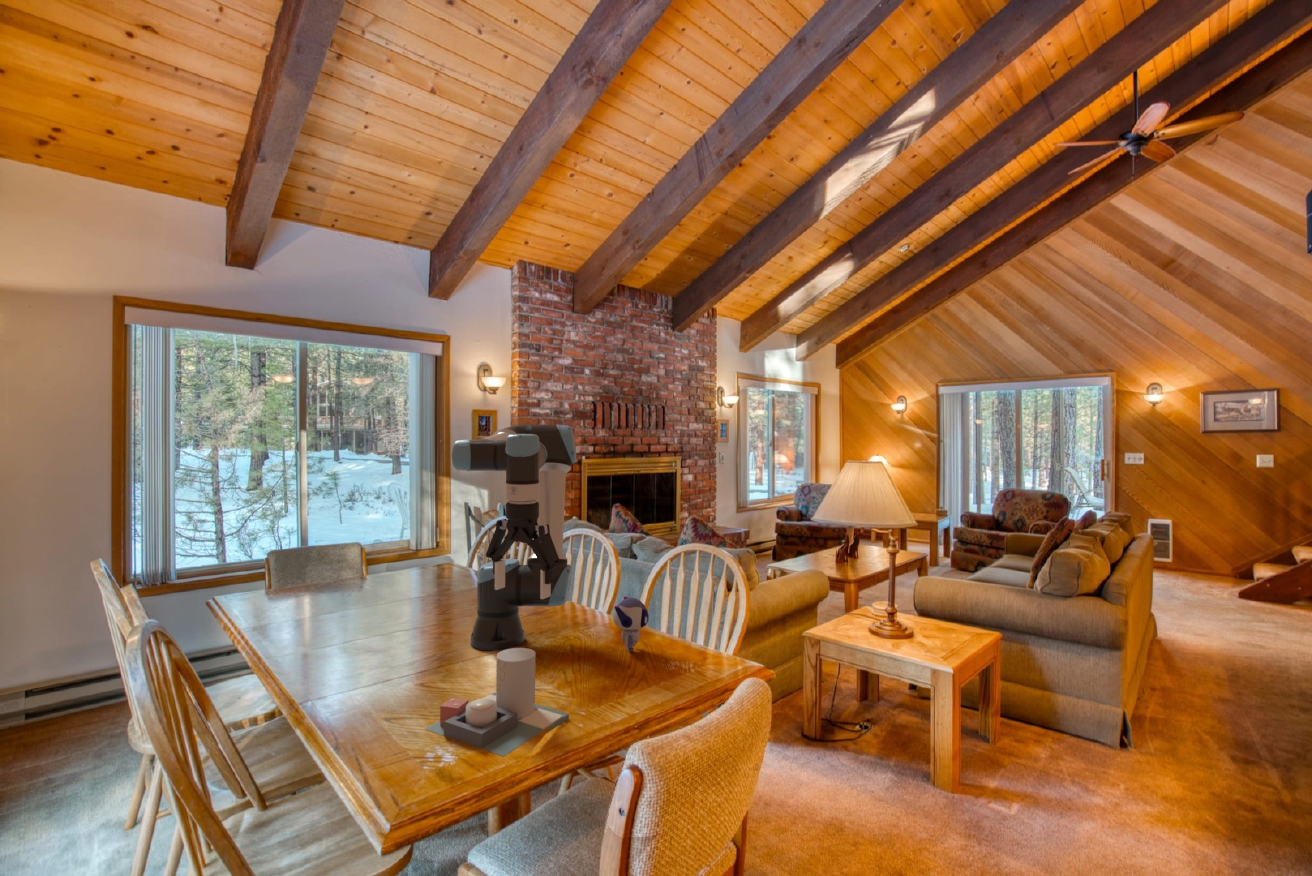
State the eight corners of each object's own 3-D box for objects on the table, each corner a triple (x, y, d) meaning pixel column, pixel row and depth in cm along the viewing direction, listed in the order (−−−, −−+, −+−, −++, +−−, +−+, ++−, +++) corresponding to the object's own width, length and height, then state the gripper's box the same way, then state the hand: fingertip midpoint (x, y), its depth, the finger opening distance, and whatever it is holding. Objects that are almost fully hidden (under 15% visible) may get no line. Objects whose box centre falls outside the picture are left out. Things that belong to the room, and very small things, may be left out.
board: (424, 733, 125) (424, 714, 124) (495, 697, 142) (495, 680, 142) (503, 761, 114) (503, 741, 114) (568, 718, 132) (569, 700, 132)
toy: (643, 660, 166) (644, 604, 166) (608, 656, 168) (608, 601, 168) (651, 646, 177) (652, 594, 176) (618, 643, 179) (619, 592, 178)
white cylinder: (499, 702, 136) (500, 648, 136) (536, 701, 137) (537, 647, 137) (492, 719, 128) (493, 661, 128) (532, 718, 129) (533, 661, 129)
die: (440, 725, 126) (440, 704, 126) (451, 716, 130) (451, 696, 130) (457, 728, 125) (457, 706, 125) (468, 719, 129) (468, 698, 129)
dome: (459, 727, 123) (459, 705, 123) (481, 715, 128) (481, 694, 128) (481, 735, 120) (481, 712, 120) (503, 722, 125) (503, 701, 125)
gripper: (470, 498, 144) (470, 588, 145) (555, 508, 132) (555, 606, 133) (493, 495, 151) (493, 581, 152) (576, 504, 139) (575, 597, 140)
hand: (522, 593), depth 143 cm, fingers open, 13 cm apart
